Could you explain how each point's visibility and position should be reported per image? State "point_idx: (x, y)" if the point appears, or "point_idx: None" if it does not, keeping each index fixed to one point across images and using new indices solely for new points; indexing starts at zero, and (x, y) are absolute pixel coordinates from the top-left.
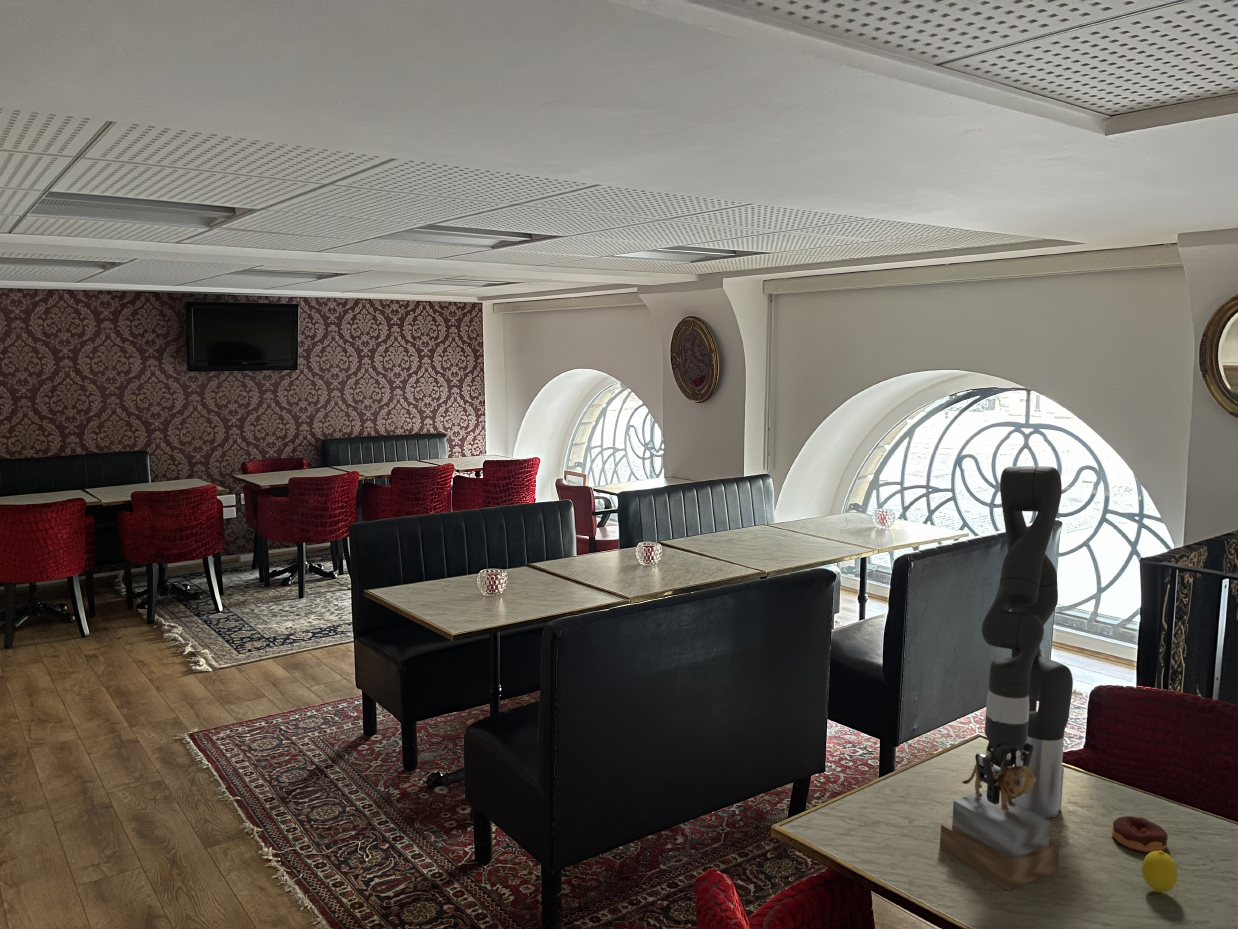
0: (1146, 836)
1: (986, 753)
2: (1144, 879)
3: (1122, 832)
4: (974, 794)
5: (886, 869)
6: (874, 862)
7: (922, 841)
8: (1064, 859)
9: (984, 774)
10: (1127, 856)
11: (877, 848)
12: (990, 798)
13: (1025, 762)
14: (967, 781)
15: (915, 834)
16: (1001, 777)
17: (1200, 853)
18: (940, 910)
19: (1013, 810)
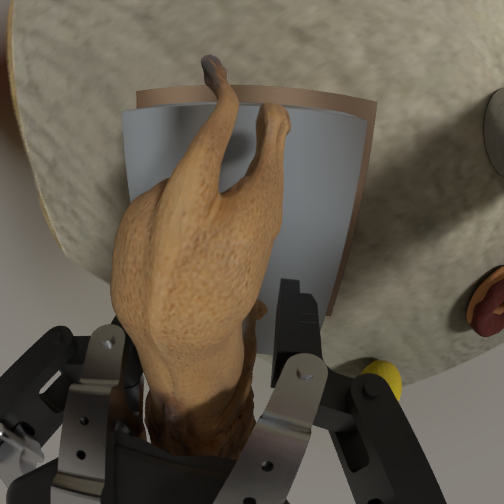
0: (480, 330)
1: (5, 477)
2: (368, 369)
3: (484, 303)
4: (254, 111)
5: (41, 119)
6: (38, 94)
7: (157, 50)
8: (376, 264)
9: (58, 368)
10: (449, 306)
11: (65, 52)
12: None
13: (347, 476)
14: (209, 84)
15: (168, 20)
16: (141, 411)
17: (492, 335)
18: (58, 237)
19: (277, 283)
